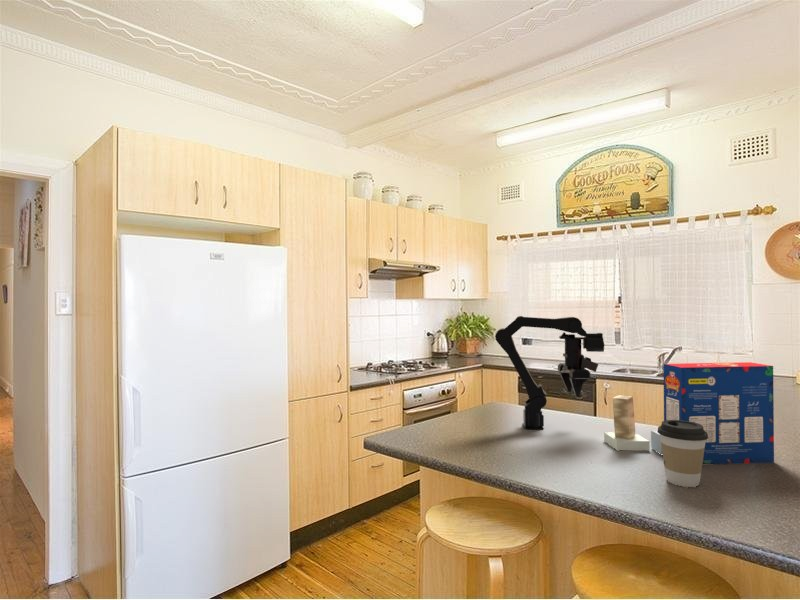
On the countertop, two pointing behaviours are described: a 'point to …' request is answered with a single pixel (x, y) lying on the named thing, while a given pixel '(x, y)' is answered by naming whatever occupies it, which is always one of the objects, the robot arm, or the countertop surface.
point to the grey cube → (656, 441)
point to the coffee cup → (682, 451)
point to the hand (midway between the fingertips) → (573, 394)
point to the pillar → (624, 416)
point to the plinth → (626, 442)
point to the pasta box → (725, 408)
